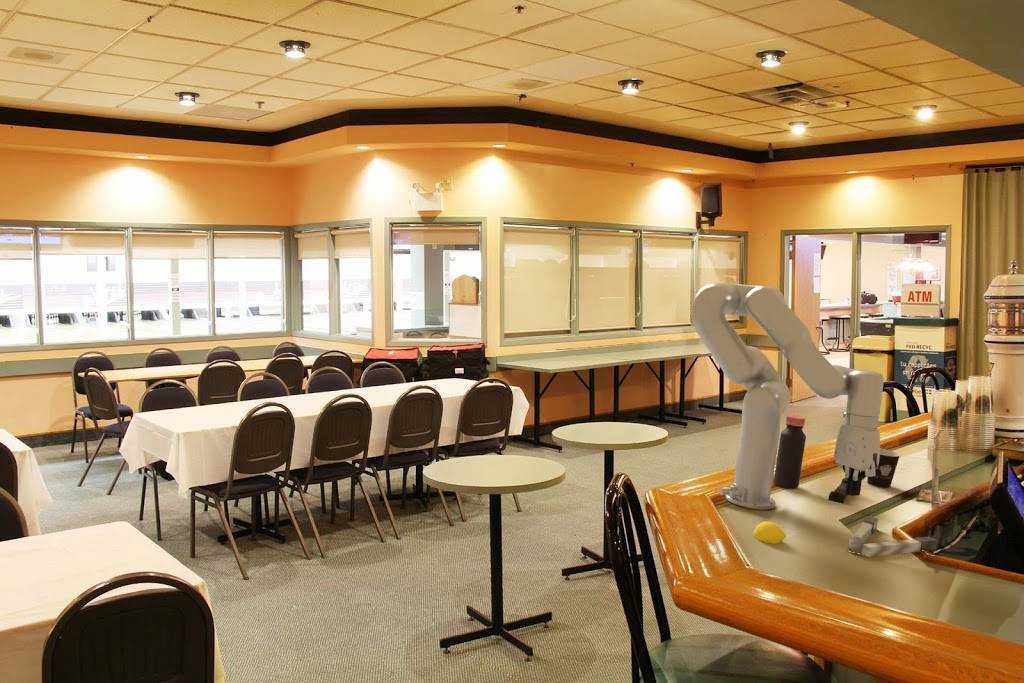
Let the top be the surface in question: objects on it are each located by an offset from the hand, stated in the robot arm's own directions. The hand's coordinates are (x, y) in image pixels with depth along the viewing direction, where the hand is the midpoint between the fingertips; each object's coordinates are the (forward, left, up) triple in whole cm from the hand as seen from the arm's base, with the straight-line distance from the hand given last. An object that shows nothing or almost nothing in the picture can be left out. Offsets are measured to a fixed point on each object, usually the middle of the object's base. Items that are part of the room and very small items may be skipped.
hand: (852, 494), depth 200 cm
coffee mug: (+42, +29, -8) cm, 52 cm away
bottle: (+9, +31, -8) cm, 33 cm away
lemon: (-32, -6, -8) cm, 33 cm away
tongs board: (-5, -13, -8) cm, 16 cm away
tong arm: (-5, -9, -7) cm, 13 cm away
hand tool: (+19, +20, -9) cm, 28 cm away
